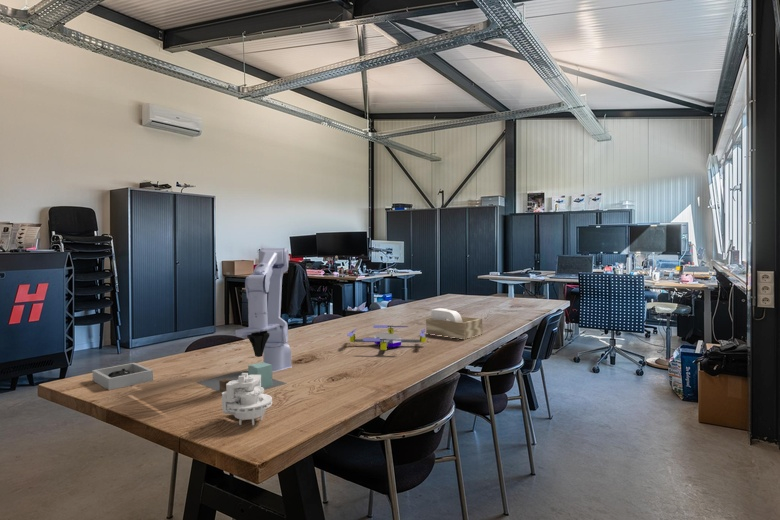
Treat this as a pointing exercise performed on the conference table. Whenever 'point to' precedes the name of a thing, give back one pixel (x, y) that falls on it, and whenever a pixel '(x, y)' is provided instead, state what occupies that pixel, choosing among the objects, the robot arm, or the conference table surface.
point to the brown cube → (223, 384)
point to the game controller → (119, 373)
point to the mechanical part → (245, 398)
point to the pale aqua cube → (262, 373)
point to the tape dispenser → (445, 315)
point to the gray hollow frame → (134, 377)
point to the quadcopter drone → (387, 338)
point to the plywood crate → (455, 327)
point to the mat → (215, 384)
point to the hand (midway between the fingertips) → (258, 356)
